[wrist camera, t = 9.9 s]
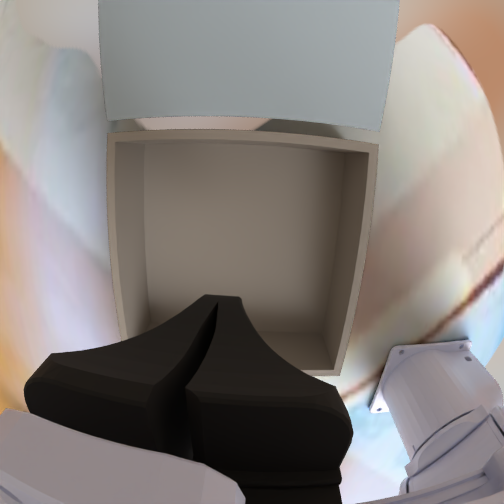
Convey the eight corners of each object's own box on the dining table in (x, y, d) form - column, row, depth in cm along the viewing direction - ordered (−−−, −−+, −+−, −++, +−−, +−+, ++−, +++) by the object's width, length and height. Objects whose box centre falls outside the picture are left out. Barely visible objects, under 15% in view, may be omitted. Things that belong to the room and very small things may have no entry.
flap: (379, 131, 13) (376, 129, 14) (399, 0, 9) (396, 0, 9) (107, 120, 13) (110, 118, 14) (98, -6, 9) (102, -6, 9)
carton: (350, 147, 19) (378, 144, 14) (325, 335, 23) (339, 375, 18) (140, 137, 19) (107, 133, 14) (147, 323, 23) (125, 360, 18)
